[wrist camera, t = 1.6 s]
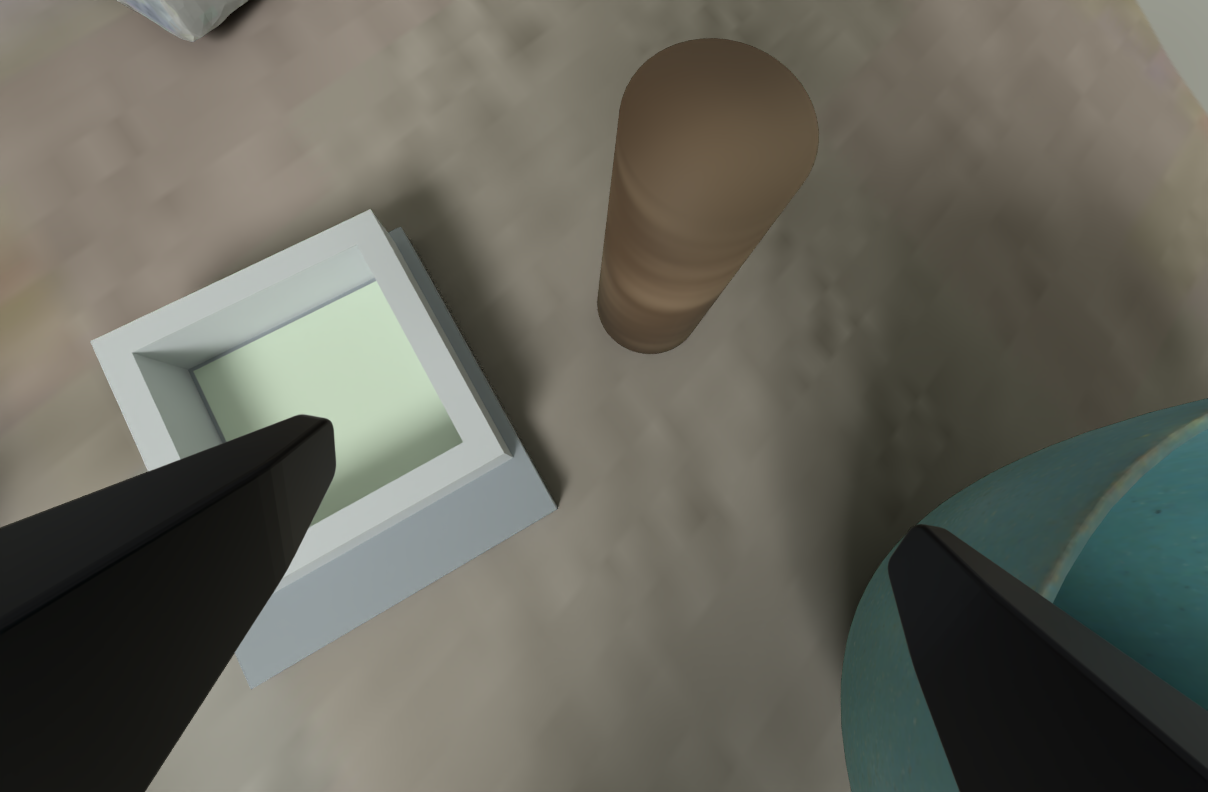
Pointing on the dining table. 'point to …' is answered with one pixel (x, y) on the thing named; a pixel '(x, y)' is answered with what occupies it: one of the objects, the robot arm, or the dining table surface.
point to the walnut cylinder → (696, 183)
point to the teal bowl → (1053, 577)
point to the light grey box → (185, 14)
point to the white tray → (336, 422)
